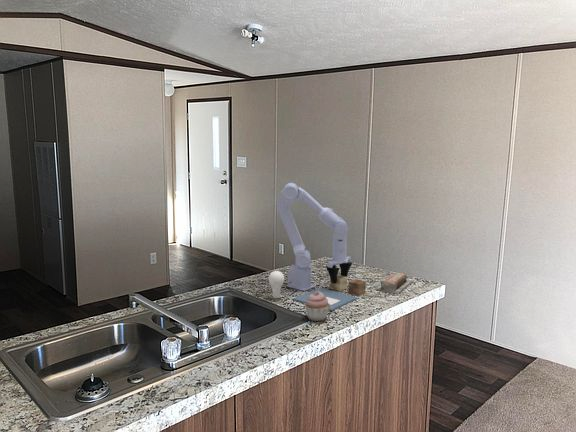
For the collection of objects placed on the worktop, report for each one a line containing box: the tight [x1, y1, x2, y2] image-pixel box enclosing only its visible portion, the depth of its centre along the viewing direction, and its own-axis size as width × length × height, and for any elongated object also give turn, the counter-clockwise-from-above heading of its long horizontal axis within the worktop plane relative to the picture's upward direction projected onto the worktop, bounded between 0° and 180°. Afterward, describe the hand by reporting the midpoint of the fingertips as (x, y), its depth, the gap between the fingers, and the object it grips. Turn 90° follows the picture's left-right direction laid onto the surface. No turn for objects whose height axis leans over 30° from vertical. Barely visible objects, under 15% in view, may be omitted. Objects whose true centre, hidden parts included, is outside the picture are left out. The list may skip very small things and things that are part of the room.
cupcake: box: [303, 291, 331, 322], centre depth 166 cm, size 9×9×10 cm
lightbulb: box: [268, 270, 285, 300], centre depth 186 cm, size 6×6×11 cm
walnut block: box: [347, 278, 367, 297], centre depth 194 cm, size 5×5×5 cm
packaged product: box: [375, 272, 413, 295], centre depth 204 cm, size 18×5×10 cm
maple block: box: [329, 274, 348, 292], centre depth 200 cm, size 5×5×5 cm
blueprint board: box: [292, 287, 359, 312], centre depth 186 cm, size 18×18×1 cm
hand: (338, 280), depth 200 cm, fingers open, 7 cm apart
